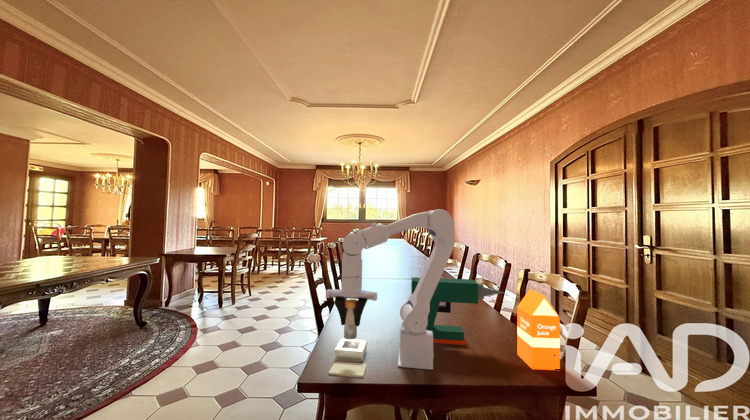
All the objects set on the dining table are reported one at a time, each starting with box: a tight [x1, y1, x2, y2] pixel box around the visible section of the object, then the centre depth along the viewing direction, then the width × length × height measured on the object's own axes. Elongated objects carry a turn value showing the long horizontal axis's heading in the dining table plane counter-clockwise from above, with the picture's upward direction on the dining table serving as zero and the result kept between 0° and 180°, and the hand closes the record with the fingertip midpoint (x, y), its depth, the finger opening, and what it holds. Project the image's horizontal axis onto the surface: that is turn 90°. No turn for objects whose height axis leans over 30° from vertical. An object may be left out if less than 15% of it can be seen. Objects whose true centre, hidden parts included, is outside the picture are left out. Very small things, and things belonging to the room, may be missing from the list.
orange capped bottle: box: [343, 298, 358, 339], centre depth 81 cm, size 4×4×10 cm
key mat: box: [328, 360, 368, 378], centre depth 76 cm, size 9×6×1 cm, turn 83°
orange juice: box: [516, 288, 561, 371], centre depth 83 cm, size 8×9×20 cm
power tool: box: [410, 276, 506, 346], centre depth 98 cm, size 32×7×20 cm, turn 84°
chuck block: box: [334, 338, 368, 364], centre depth 84 cm, size 8×8×3 cm
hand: (350, 324), depth 81 cm, fingers closed on orange capped bottle, 4 cm apart
